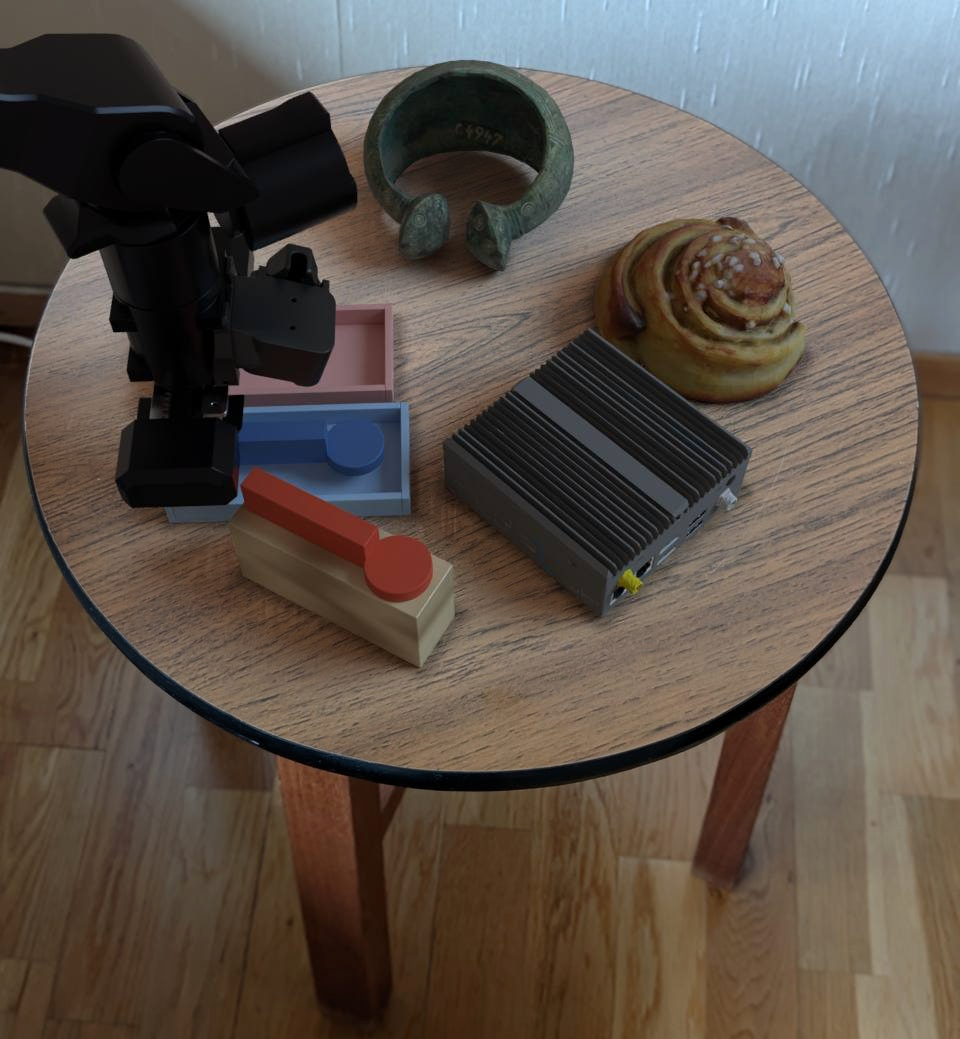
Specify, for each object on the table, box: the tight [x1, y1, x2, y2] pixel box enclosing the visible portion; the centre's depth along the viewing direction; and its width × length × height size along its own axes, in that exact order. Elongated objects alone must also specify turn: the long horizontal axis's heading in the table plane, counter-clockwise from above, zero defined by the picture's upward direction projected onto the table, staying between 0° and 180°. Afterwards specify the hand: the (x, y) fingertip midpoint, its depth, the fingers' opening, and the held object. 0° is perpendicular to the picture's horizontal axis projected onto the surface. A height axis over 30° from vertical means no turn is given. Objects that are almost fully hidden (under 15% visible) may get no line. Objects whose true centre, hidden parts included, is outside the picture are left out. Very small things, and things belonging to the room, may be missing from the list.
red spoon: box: [240, 467, 433, 602], centre depth 74 cm, size 12×4×2 cm, turn 60°
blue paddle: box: [238, 419, 385, 476], centre depth 83 cm, size 12×4×2 cm, turn 92°
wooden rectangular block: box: [227, 503, 455, 668], centre depth 78 cm, size 13×4×6 cm, turn 60°
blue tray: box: [163, 401, 412, 524], centre depth 84 cm, size 15×8×2 cm, turn 92°
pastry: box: [592, 216, 807, 404], centre depth 89 cm, size 13×15×8 cm
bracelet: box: [362, 59, 575, 272], centre depth 94 cm, size 15×15×10 cm
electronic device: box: [441, 327, 754, 619], centre depth 82 cm, size 13×15×5 cm
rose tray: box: [229, 303, 395, 407], centre depth 89 cm, size 15×8×2 cm, turn 92°
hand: (213, 447), depth 83 cm, fingers closed on blue paddle, 1 cm apart
